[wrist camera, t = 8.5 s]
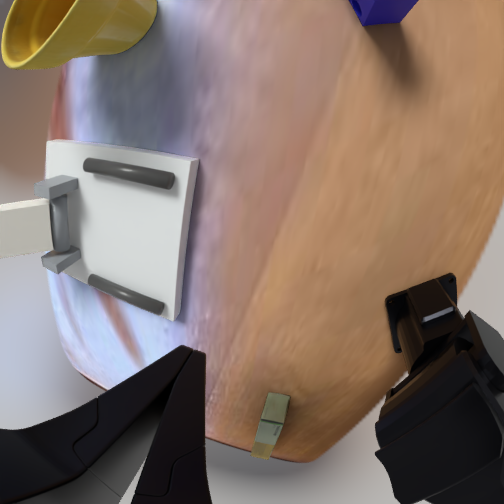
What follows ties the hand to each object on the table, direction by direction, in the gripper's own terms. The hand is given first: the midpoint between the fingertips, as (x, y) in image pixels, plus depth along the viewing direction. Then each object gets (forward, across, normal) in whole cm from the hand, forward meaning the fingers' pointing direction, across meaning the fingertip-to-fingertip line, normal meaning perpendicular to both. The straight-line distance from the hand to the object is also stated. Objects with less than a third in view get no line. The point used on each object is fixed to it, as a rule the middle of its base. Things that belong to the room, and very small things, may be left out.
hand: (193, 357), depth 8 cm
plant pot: (+13, +15, -15) cm, 25 cm away
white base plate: (+13, +14, +4) cm, 19 cm away
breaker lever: (+10, +18, +4) cm, 21 cm away
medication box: (+13, -7, +24) cm, 28 cm away
